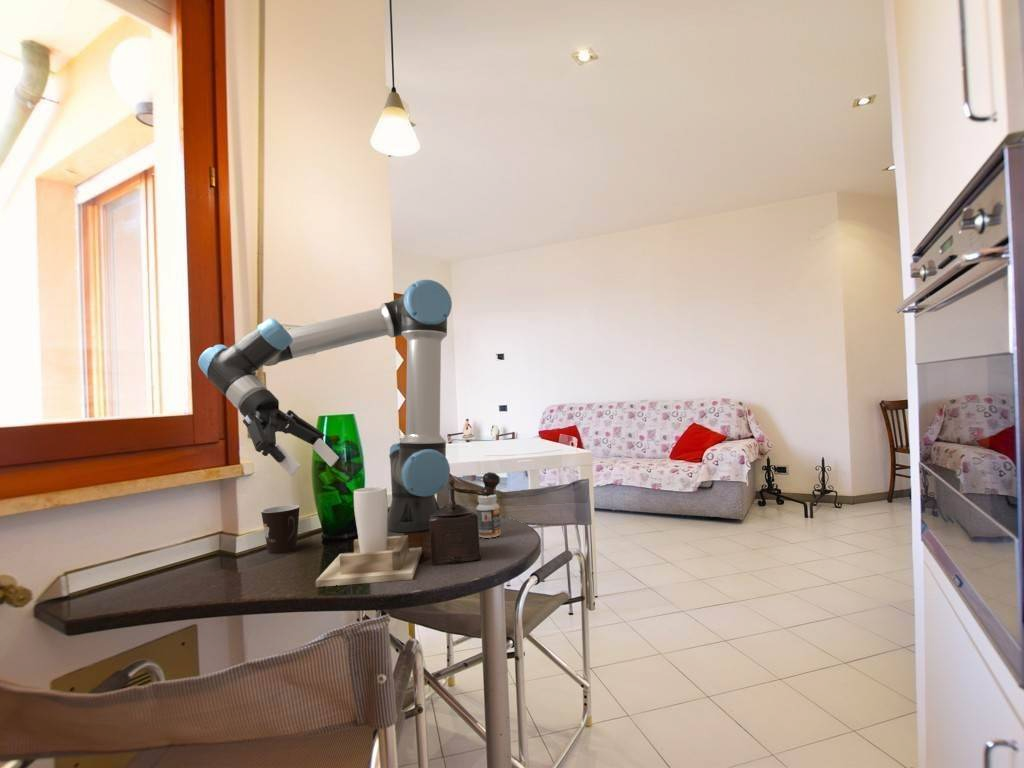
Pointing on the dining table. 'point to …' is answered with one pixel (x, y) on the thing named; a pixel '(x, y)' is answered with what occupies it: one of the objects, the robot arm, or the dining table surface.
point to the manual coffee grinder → (458, 527)
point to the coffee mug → (281, 528)
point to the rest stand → (373, 564)
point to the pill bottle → (488, 516)
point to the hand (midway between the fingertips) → (316, 466)
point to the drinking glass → (371, 518)
